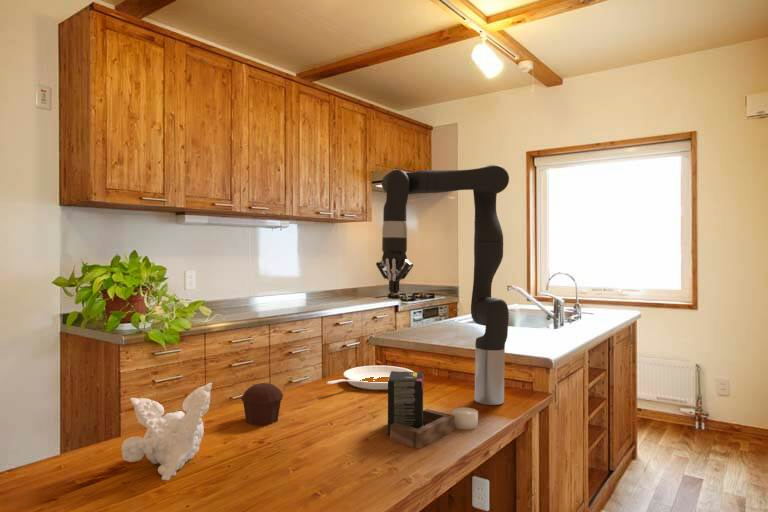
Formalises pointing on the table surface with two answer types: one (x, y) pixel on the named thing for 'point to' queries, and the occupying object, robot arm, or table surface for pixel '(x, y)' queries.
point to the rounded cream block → (465, 418)
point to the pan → (367, 372)
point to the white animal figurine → (168, 432)
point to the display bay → (424, 429)
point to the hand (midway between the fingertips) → (393, 293)
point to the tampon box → (405, 399)
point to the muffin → (262, 404)
